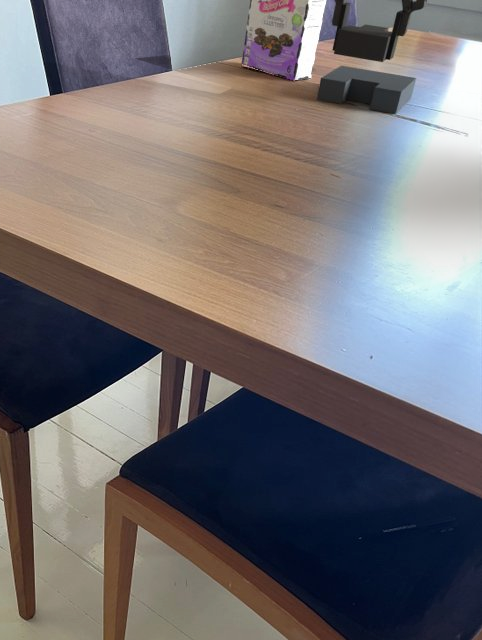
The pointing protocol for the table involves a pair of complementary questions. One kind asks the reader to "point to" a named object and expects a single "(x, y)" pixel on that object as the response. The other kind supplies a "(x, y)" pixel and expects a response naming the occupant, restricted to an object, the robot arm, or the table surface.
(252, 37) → the candy box
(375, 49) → the pad
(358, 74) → the base pad
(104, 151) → the table surface
